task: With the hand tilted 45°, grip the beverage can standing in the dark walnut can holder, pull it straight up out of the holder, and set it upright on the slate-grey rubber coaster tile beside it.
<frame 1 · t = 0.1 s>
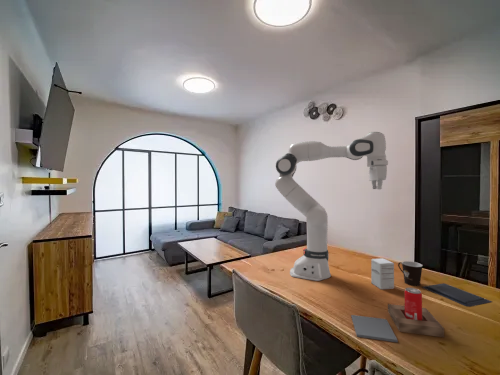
hand: (376, 189, 123), 48 cm above the table, tool pointing down, fingers open, 8 cm apart
beverage can: (413, 323, 85), resting in can holder
coaster tile: (372, 328, 82), on the table
coffee mug: (410, 282, 120), on the table
wallet: (454, 296, 107), on the table
supplement box: (382, 286, 116), on the table
can holder: (413, 323, 85), on the table
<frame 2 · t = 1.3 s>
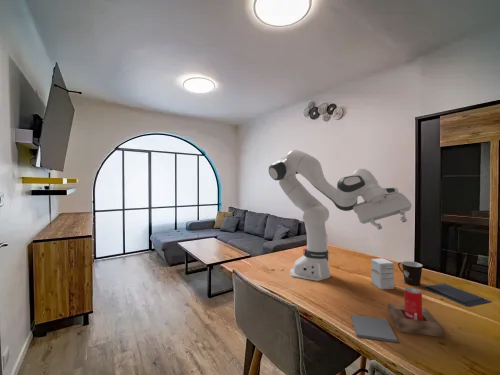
hand: (392, 225, 92), 35 cm above the table, tool tilted 45°, fingers open, 8 cm apart
nothing on the table moved.
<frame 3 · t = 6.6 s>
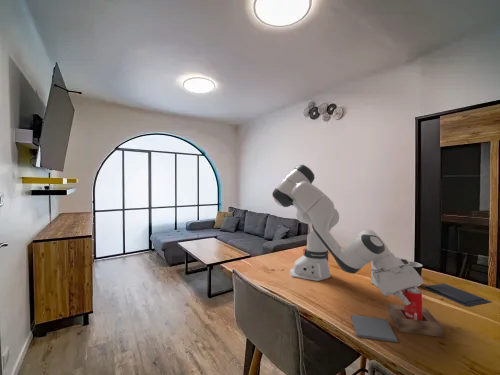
hand: (414, 302, 84), 8 cm above the table, tool tilted 45°, fingers closed on beverage can, 5 cm apart
beverage can: (413, 323, 85), resting in can holder, touching gripper
everything else where it was.
when the fingers open (10 cm above the table, at t = 12.4 s): beverage can stays where it is, resting on coaster tile.
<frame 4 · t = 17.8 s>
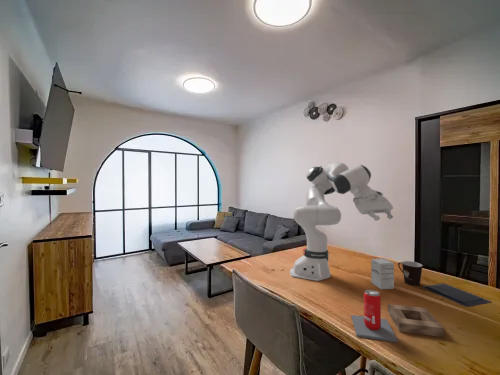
hand: (384, 219, 109), 34 cm above the table, tool tilted 45°, fingers open, 8 cm apart
beverage can: (372, 327, 82), point 1 cm above the table, touching coaster tile
everything else where it was.
at the end: beverage can 0.3 cm from the coaster tile (horizontally); beverage can touching coaster tile; beverage can tilted 0° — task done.
